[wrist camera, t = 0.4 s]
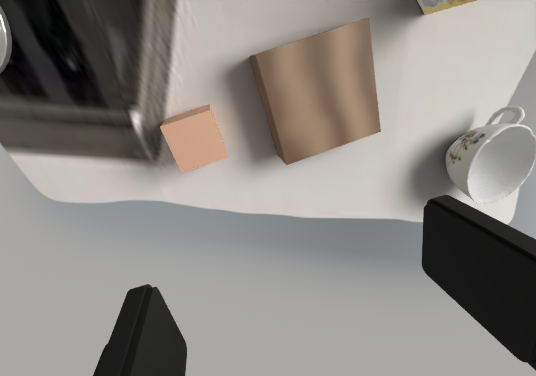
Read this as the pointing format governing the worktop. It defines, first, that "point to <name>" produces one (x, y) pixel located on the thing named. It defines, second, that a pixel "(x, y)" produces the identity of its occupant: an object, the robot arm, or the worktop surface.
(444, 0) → the candy box
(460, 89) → the worktop surface
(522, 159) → the teacup
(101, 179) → the worktop surface
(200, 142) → the peach cube
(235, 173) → the worktop surface
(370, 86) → the walnut stand
